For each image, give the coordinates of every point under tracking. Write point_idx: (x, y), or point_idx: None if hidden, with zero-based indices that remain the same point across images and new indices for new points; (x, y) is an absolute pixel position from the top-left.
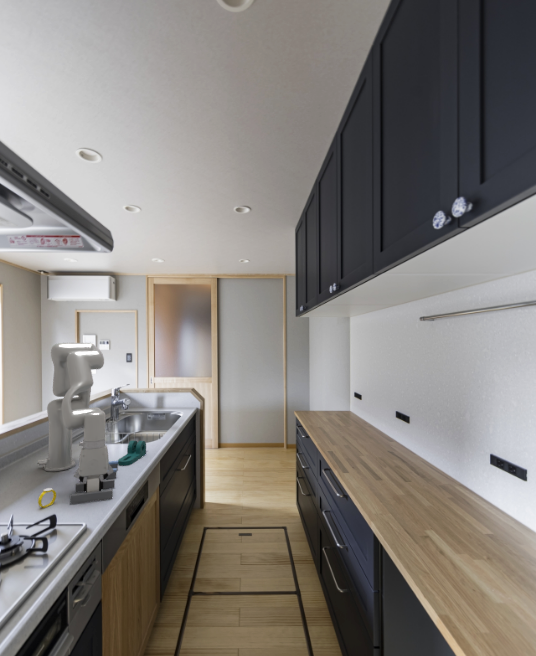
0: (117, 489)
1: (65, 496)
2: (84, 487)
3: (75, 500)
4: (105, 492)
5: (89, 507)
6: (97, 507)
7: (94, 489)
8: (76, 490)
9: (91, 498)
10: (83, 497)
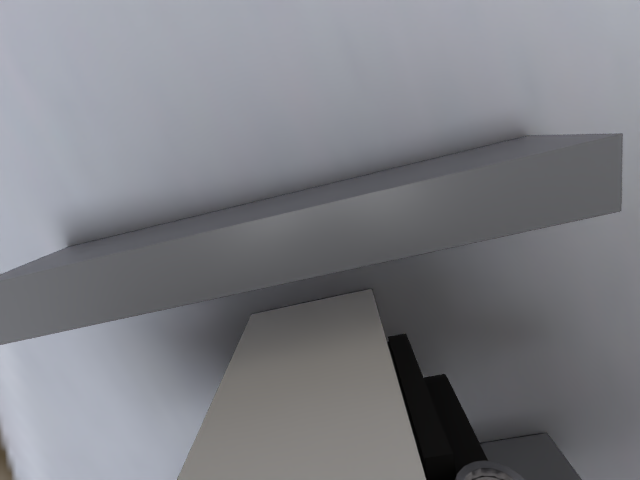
0: (137, 461)
1: (632, 365)
2: (454, 414)
3: (483, 151)
4: (69, 264)
5: (236, 16)
6: (125, 5)
7: (281, 365)
8: (548, 457)
9: (277, 204)
10: (382, 181)
